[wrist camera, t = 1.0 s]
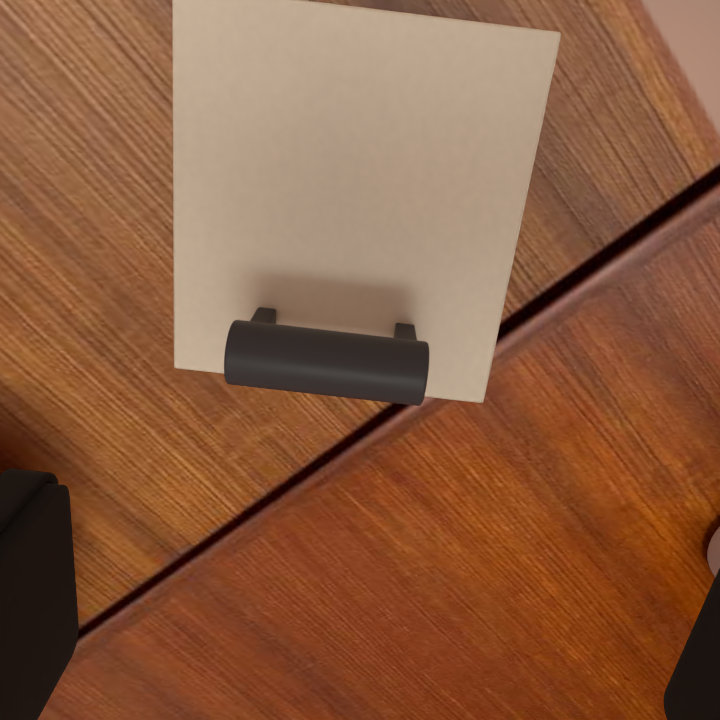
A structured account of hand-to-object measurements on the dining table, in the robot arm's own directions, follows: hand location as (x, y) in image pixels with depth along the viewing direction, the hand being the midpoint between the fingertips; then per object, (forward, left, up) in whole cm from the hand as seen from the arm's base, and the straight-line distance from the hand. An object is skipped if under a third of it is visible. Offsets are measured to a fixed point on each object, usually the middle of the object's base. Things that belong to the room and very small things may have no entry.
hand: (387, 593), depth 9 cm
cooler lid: (0, -3, -15) cm, 15 cm away
